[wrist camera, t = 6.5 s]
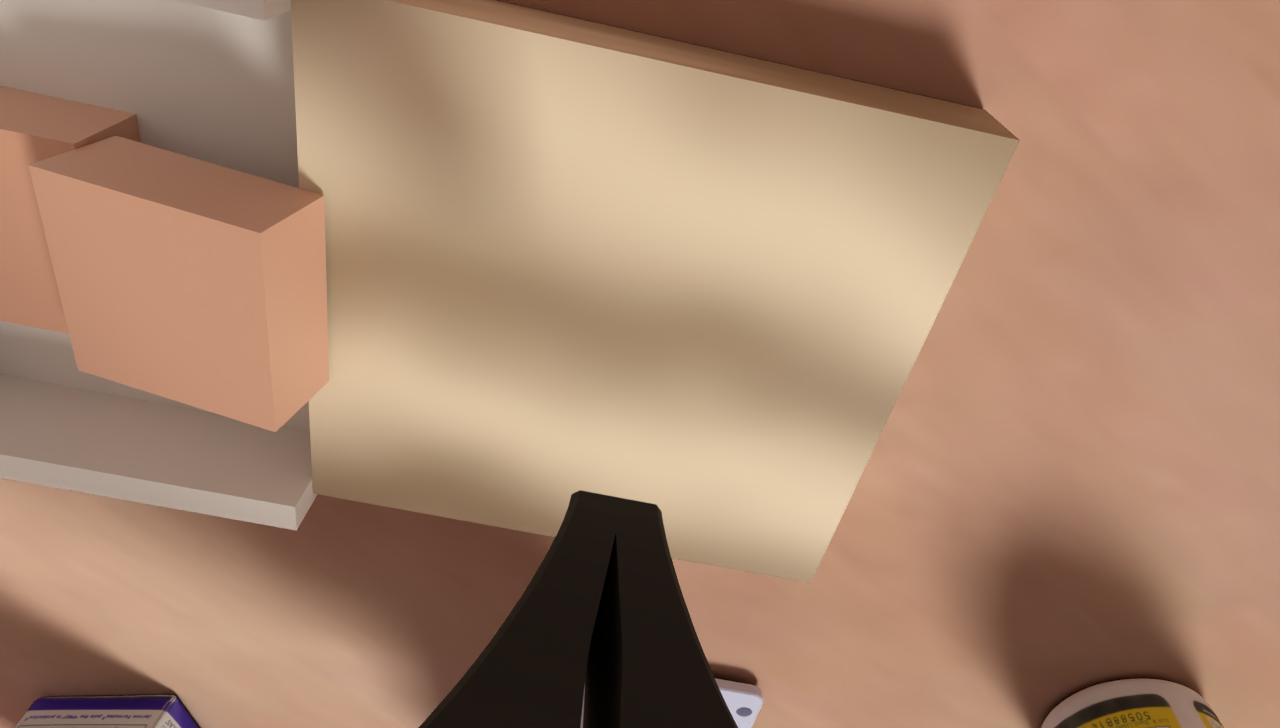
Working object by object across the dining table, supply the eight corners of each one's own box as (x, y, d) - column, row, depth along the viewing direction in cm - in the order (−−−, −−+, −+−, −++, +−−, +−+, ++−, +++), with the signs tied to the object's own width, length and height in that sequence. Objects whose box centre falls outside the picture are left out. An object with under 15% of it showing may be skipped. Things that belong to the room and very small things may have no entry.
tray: (342, 451, 22) (296, 530, 19) (-25, 384, 21) (-122, 456, 19) (334, -53, 15) (260, -34, 12) (-212, -176, 14) (-407, -182, 12)
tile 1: (328, 381, 18) (275, 432, 16) (149, 325, 18) (77, 370, 16) (324, 195, 15) (260, 233, 14) (116, 135, 16) (27, 164, 14)
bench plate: (801, 528, 22) (810, 583, 21) (342, 443, 21) (312, 493, 20) (984, 109, 16) (1020, 140, 14) (334, -36, 15) (290, -22, 13)
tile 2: (165, 299, 19) (114, 342, 17) (-28, 261, 19) (-99, 302, 17) (136, 113, 16) (73, 144, 15) (-87, 67, 16) (-177, 92, 14)
